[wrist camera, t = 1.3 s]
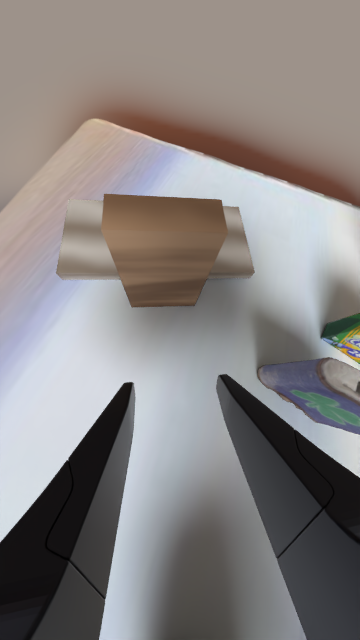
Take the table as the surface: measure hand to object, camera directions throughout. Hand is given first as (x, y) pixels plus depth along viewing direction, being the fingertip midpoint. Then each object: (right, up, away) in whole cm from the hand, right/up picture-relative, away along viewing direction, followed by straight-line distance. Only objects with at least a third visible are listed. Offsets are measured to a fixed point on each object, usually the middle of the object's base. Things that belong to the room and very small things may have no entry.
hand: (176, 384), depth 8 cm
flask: (+13, -5, +12) cm, 19 cm away
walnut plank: (-2, +6, +14) cm, 16 cm away
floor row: (-3, +14, +17) cm, 22 cm away
